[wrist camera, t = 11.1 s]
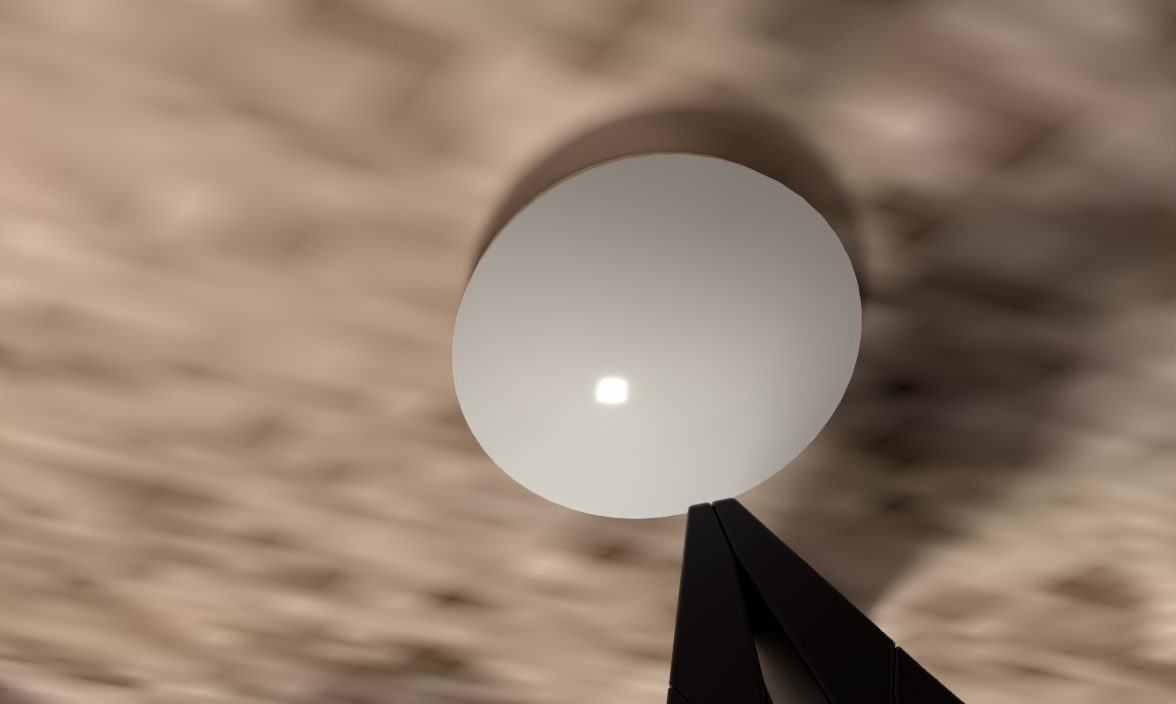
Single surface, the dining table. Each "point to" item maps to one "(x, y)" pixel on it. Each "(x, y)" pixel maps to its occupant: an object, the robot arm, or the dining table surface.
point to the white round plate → (655, 335)
